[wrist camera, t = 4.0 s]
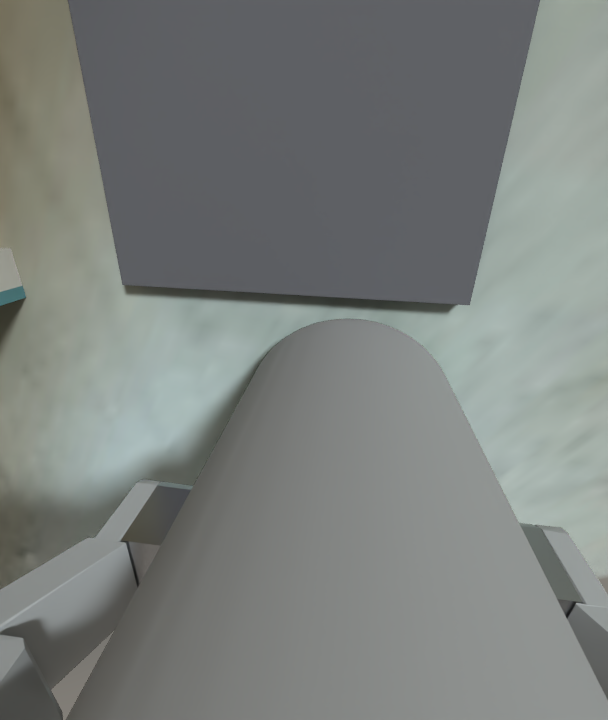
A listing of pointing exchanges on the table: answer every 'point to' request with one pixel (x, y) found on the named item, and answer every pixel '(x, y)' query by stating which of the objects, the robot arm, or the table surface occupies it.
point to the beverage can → (344, 562)
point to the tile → (9, 278)
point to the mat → (302, 140)
